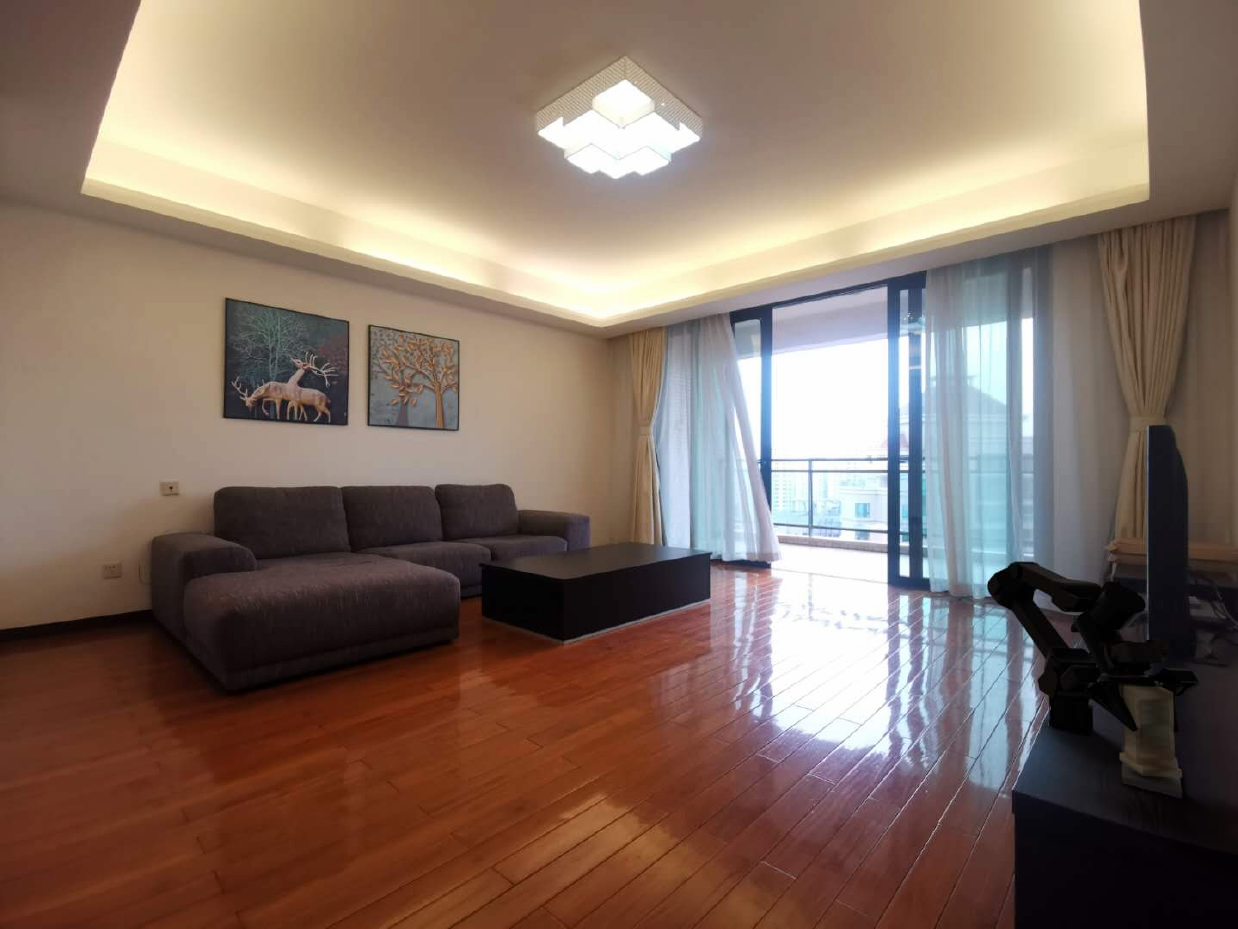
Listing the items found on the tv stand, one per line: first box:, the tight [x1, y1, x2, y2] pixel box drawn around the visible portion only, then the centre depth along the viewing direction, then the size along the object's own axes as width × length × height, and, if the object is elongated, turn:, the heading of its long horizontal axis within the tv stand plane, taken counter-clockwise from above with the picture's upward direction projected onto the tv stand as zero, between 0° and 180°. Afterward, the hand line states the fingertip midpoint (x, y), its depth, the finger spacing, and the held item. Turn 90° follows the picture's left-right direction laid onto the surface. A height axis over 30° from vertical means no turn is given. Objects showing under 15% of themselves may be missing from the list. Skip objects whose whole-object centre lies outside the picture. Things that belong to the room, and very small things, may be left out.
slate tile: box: [1121, 745, 1183, 796], centre depth 95 cm, size 7×14×1 cm, turn 138°
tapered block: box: [1119, 686, 1183, 779], centre depth 93 cm, size 6×5×13 cm
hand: (1155, 731), depth 92 cm, fingers closed on tapered block, 5 cm apart
